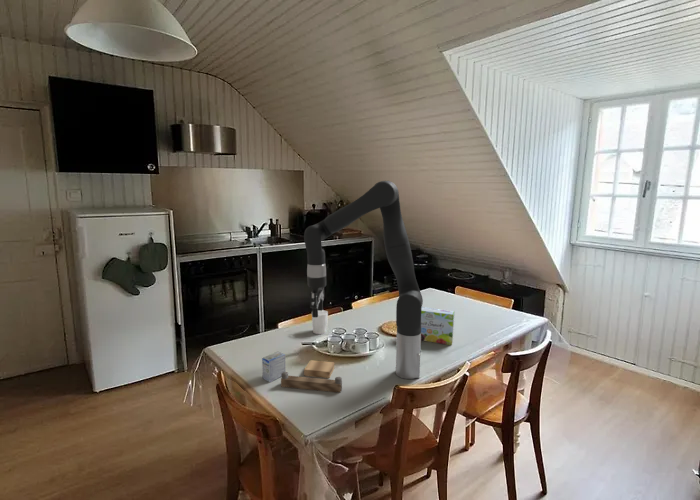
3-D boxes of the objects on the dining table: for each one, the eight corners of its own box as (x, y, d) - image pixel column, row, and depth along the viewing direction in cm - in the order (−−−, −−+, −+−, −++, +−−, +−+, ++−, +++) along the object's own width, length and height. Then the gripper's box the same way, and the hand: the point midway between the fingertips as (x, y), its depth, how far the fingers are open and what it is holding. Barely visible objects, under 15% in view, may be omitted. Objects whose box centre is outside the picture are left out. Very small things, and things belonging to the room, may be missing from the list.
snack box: (406, 339, 191) (407, 308, 188) (408, 334, 196) (409, 304, 193) (451, 345, 184) (453, 314, 181) (453, 341, 189) (455, 310, 186)
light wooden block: (334, 369, 162) (334, 362, 161) (329, 379, 154) (329, 371, 153) (310, 367, 164) (310, 360, 163) (304, 376, 156) (304, 369, 155)
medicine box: (278, 371, 159) (277, 350, 157) (286, 374, 156) (285, 353, 155) (262, 379, 153) (261, 357, 151) (270, 382, 150) (269, 361, 149)
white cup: (331, 331, 199) (331, 312, 197) (319, 336, 194) (319, 316, 192) (320, 327, 205) (320, 308, 203) (308, 331, 199) (308, 312, 197)
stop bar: (342, 388, 147) (342, 376, 146) (340, 392, 144) (340, 380, 143) (283, 382, 150) (283, 371, 150) (280, 386, 148) (280, 375, 147)
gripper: (321, 279, 153) (322, 320, 156) (329, 270, 167) (330, 308, 170) (302, 278, 155) (304, 319, 158) (312, 270, 168) (313, 307, 171)
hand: (317, 313), depth 164 cm, fingers open, 8 cm apart
